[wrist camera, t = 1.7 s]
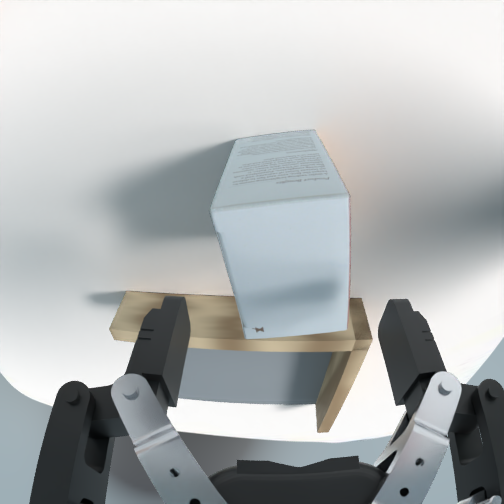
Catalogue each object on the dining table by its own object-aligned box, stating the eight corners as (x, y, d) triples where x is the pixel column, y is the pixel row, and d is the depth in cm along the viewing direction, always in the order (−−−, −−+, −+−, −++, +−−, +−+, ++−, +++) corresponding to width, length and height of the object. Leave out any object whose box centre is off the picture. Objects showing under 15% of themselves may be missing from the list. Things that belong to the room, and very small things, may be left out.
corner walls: (361, 298, 29) (372, 339, 25) (325, 401, 41) (328, 432, 37) (126, 290, 30) (109, 329, 25) (167, 394, 42) (160, 424, 38)
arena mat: (343, 309, 30) (344, 312, 29) (315, 401, 41) (315, 403, 40) (130, 301, 30) (128, 304, 30) (167, 394, 42) (166, 396, 41)
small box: (324, 227, 24) (349, 334, 16) (253, 235, 25) (244, 343, 17) (316, 126, 20) (354, 194, 11) (233, 136, 21) (206, 211, 12)
